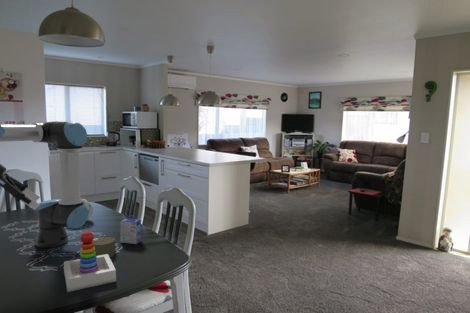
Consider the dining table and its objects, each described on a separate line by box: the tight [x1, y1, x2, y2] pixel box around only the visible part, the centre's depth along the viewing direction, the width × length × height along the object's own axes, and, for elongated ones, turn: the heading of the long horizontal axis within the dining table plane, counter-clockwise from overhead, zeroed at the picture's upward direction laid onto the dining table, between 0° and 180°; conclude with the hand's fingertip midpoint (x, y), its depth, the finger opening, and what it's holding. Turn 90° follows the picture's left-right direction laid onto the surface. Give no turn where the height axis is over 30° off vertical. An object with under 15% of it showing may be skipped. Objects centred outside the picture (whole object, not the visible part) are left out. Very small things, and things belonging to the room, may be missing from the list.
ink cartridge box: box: [120, 214, 142, 245], centre depth 178 cm, size 10×6×14 cm, turn 78°
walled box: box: [63, 254, 117, 293], centre depth 139 cm, size 18×18×5 cm
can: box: [92, 235, 116, 257], centre depth 163 cm, size 12×12×7 cm
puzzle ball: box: [82, 198, 94, 221], centre depth 209 cm, size 15×15×15 cm
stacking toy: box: [79, 230, 99, 275], centre depth 138 cm, size 8×8×19 cm
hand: (37, 203), depth 135 cm, fingers open, 13 cm apart
